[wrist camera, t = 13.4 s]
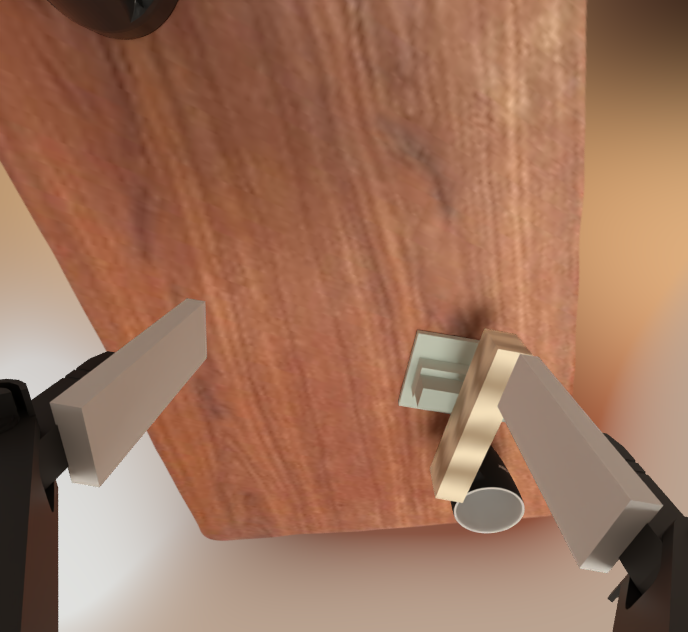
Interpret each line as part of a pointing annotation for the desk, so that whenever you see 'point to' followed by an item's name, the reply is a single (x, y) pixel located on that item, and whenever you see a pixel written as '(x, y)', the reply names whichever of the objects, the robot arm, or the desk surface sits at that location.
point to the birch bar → (475, 415)
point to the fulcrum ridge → (436, 371)
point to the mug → (490, 499)
